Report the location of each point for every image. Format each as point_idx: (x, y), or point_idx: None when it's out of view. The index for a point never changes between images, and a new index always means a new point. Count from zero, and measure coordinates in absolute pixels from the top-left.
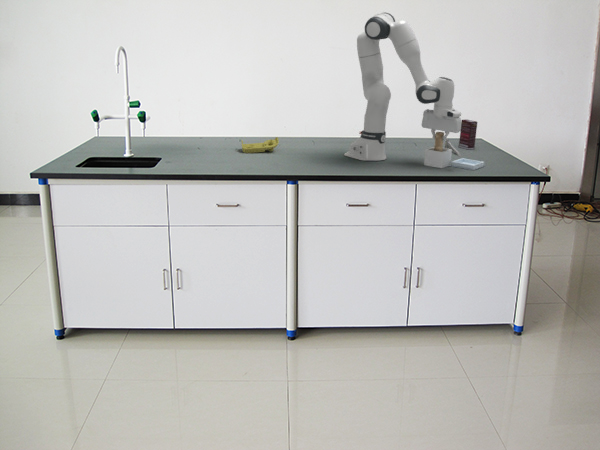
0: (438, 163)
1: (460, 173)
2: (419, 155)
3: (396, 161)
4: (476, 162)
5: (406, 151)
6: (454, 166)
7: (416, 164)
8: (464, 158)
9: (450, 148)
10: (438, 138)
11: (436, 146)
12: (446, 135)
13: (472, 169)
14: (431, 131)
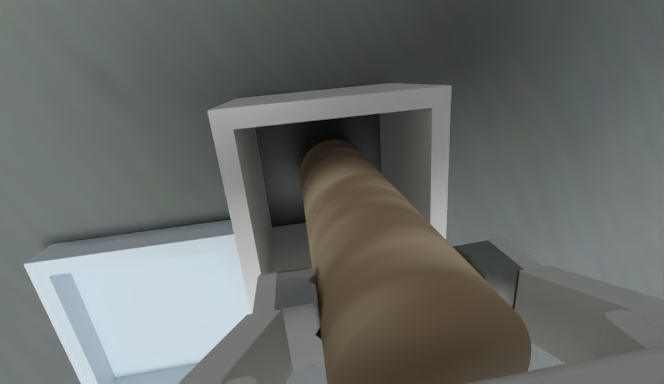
0: (262, 97)
1: (10, 76)
2: None
3: (601, 5)
4: (148, 381)
5: None
6: (209, 223)
7: (441, 50)
8: None
9: None
10: (368, 230)
11: (356, 175)
12: (222, 355)
13: (52, 247)
14: (645, 299)
